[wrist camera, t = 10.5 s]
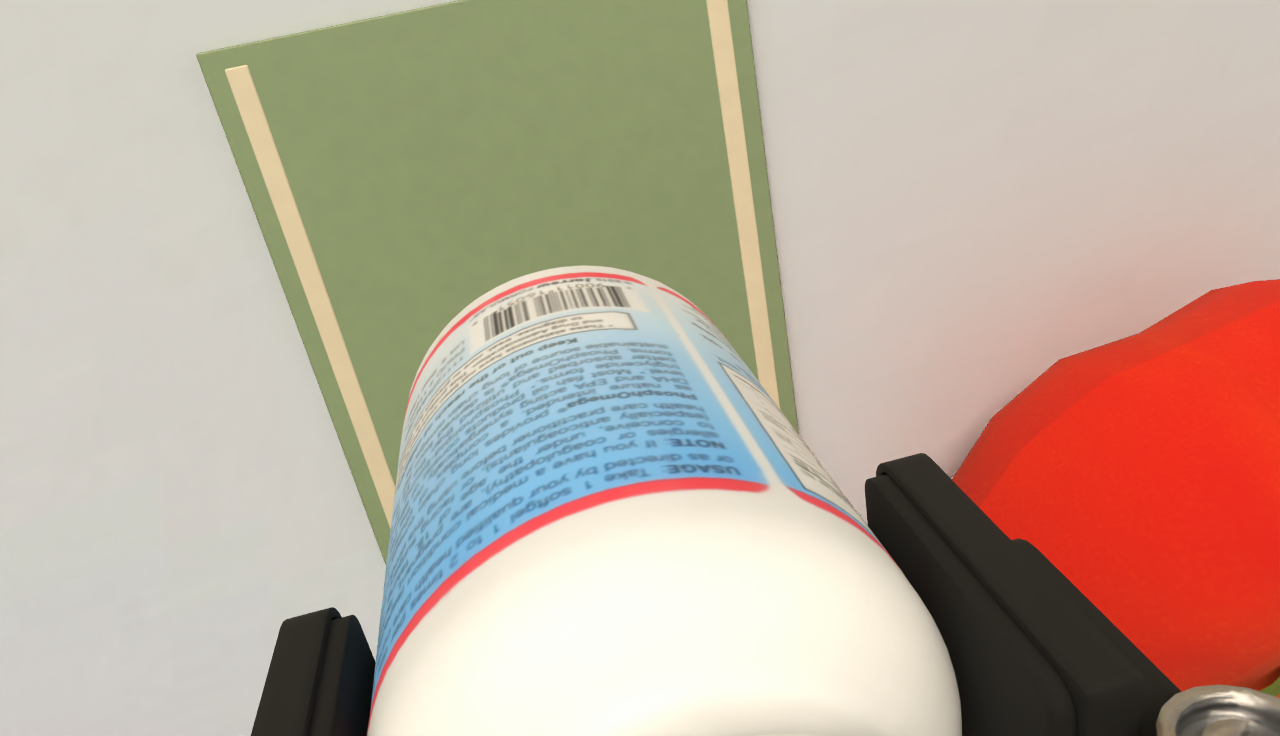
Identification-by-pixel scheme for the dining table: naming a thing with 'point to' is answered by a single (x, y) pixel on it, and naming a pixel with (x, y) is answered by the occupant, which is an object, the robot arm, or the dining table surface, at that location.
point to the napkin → (499, 181)
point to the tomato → (1158, 484)
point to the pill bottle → (631, 540)
